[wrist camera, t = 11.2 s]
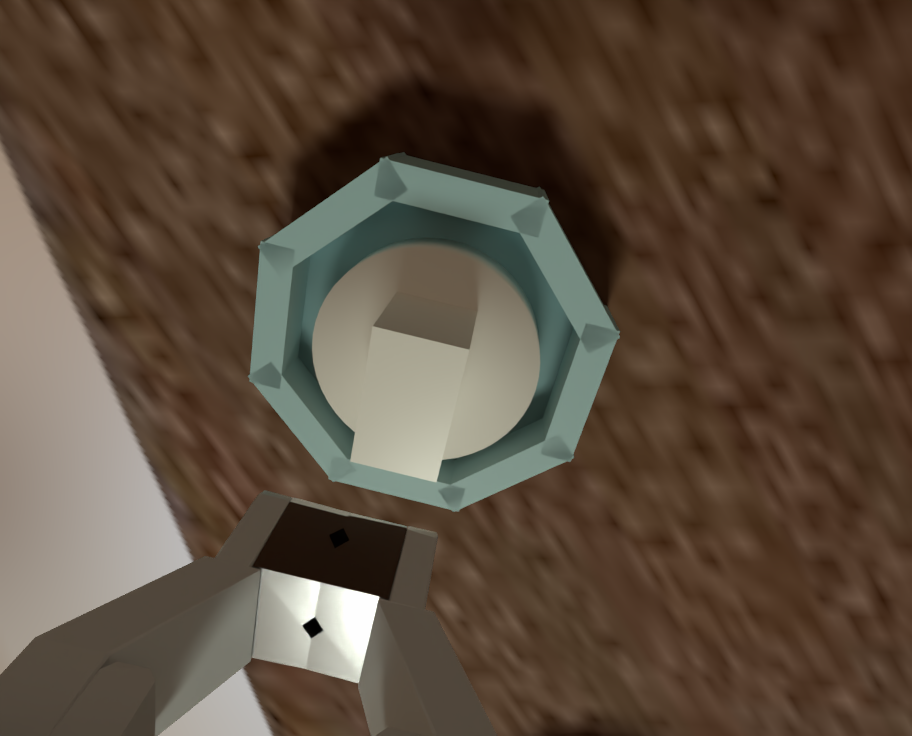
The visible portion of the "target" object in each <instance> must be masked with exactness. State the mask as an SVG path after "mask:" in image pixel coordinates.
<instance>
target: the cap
mask: <svg viewBox="0 0 912 736" xmlns="http://www.w3.org/2000/svg"><path fill="white" fill-rule="evenodd" d="M312 354H313V364H314V368H315V372H316V377H317V379H318V382H319V385H320V387H321V390H322V392H323V394H324V395H325V397H326V399H327V401H328V403H329V404H330V406H331V407H332V408H333V410H334V411H335V413H336V414H337V415H338V416H339V417H340V418H341V420H342V421H343V422H344V423H345V424H346V425H347V426H348V427H349V428H351V429H352V430H353V431H354V432H355V435H354V441H353V448H352V454H351V460H350V462H354V463H358V464H362V465H366V466H371V467H375V468H379V469H383V470H387V471H391V472H395V473H399V474H403V475H407V476H412V477H416V478H420V479H424V480H428V481H432V482H437V478H438V474H439V470H440V466H441V462H442V460H446V459H452V458H459V457H462V456H466V455H469V454H473V453H475V452H477V451H480V450H482V449H484V448H486V447H488V446H490V445H492V444H493V443H495V442H497V441H498V440H499V439H501V438H502V437H503V436H505V435H506V434H507V433H508V432H509V431H510V430H511V429H512V428H513V427H514V426H515V425H516V424H517V423H518V421H519V420H520V419H521V418H522V416H523V415H524V414H525V412H526V410H527V408H528V407H529V405H530V403H531V401H532V398H533V396H534V393H535V391H536V387H537V383H538V379H539V371H540V348H539V338H538V329H537V324H536V319H535V316H534V313H533V310H532V307H531V304H530V302H529V300H528V298H527V296H526V294H525V292H524V291H523V289H522V288H521V287H520V285H519V284H518V282H517V281H516V279H515V278H514V277H513V276H512V275H511V274H510V273H509V272H508V271H507V270H506V269H505V268H504V267H503V266H502V265H500V264H499V263H498V262H497V261H496V260H495V259H493V258H491V257H490V256H488V255H487V254H485V253H483V252H482V251H480V250H478V249H475V248H473V247H471V246H469V245H466V244H463V243H460V242H457V241H453V240H447V239H442V238H426V237H423V238H413V239H406V240H402V241H398V242H394V243H391V244H389V245H386V246H384V247H381V248H379V249H378V250H376V251H374V252H372V253H371V254H369V255H368V256H366V257H365V258H364V259H362V260H361V261H360V262H358V263H357V264H356V265H355V266H354V267H353V268H352V269H350V270H349V271H348V272H347V273H346V274H345V275H344V276H343V277H342V278H341V279H340V280H339V281H338V282H337V283H336V284H335V285H334V286H333V288H332V289H331V291H330V292H329V293H328V295H327V296H326V298H325V300H324V302H323V304H322V306H321V308H320V310H319V313H318V316H317V318H316V321H315V326H314V331H313V339H312Z"/></svg>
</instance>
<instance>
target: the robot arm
mask: <svg viewBox="0 0 912 736" xmlns="http://www.w3.org/2000/svg"><path fill="white" fill-rule="evenodd" d="M406 531H407V532H406ZM405 535H406V536H405ZM404 539H405V540H404ZM437 539H438V536H437V532H432V531H428V530H423V529H419V528H415V527H410V526H409V527H408V529H407V526H403V525H399V524H395V523H391V522H386V521H382V520H378V519H374V518H370V517H365V516H361V515H357V514H353V513H349V512H345V511H342V510H338V509H334V508H331V507H327V506H323V505H320V504H316V503H312V502H308V501H305V500H301V499H297V498H291V497H288V496H284V495H280V494H277V493H273V492H269V491H266V490H265V491H263V492H262V493H260V494H259V495H258V496H257V497H256V499H255V500H254V502H253V503H252V504H251V506H250V507H249V509H248V510H247V512H246V513H245V515H244V516H243V518H242V519H241V521H240V522H239V523H238V525H237V526H236V528H235V529H234V531H233V532H232V534H231V535H230V537H229V538H228V540H227V541H226V542H225V544H224V545H223V547H222V548H221V550H220V551H219V553H218V554H217V556H216V557H215V558H212V557H207V556H205V557H202V558H200V559H198V560H196V561H194V562H192V563H190V564H188V565H186V566H184V567H182V568H179V569H177V570H175V571H173V572H171V573H169V574H167V575H165V576H163V577H161V578H159V579H157V580H155V581H152V582H150V583H148V584H146V585H144V586H142V587H140V588H138V589H135V590H133V591H131V592H129V593H127V594H125V595H123V596H121V597H119V598H117V599H115V600H112V601H110V602H109V603H106V604H104V605H102V606H100V607H98V608H96V609H94V610H92V611H89V612H87V613H86V614H83V615H81V616H79V617H77V618H75V619H73V620H71V621H69V622H67V623H64V624H62V625H60V626H58V627H56V628H54V629H52V630H50V631H48V632H46V633H43V634H42V635H39V636H37V637H35V638H34V639H33V640H32V641H31V643H30V644H29V645H28V646H27V647H26V648H25V649H24V650H23V651H22V652H21V654H19V656H18V657H17V658H16V659H15V660H14V661H13V662H12V663H11V664H10V665H9V666H8V667H7V669H5V670H4V672H3V673H2V674H1V675H0V736H158V735H159V734H160V733H162V732H163V731H164V730H165V729H167V728H168V727H169V726H170V725H171V724H173V723H174V722H175V721H177V720H178V719H179V718H180V717H181V716H183V715H184V714H185V713H186V712H188V711H189V710H190V709H191V708H193V707H194V706H195V705H196V704H198V703H199V702H200V701H201V700H203V699H204V698H205V697H206V696H207V695H209V694H210V693H211V692H213V691H214V690H215V689H216V688H218V687H219V686H220V685H221V684H222V683H224V682H225V681H226V680H227V679H229V678H230V677H231V676H232V675H234V674H235V673H236V672H237V671H239V670H240V669H241V668H242V667H244V666H245V665H246V664H247V663H249V662H250V661H251V657H252V658H257V659H262V660H266V661H271V662H276V663H281V664H285V665H290V666H295V667H299V668H304V669H308V670H312V671H315V672H319V673H323V674H326V675H330V676H334V677H337V678H341V679H345V680H348V681H352V682H356V683H359V684H358V688H359V692H360V696H361V699H362V703H363V707H364V711H365V715H366V718H367V722H368V726H369V730H370V734H371V736H497V734H496V732H495V730H494V728H493V726H492V724H491V722H490V720H489V718H488V716H487V715H486V713H485V711H484V709H483V707H482V705H481V703H480V701H479V699H478V697H477V695H476V693H475V691H474V689H473V687H472V685H471V683H470V681H469V679H468V677H467V675H466V673H465V671H464V669H463V668H462V666H461V664H460V662H459V660H458V658H457V656H456V654H455V652H454V650H453V648H452V646H451V644H450V642H449V640H448V638H447V636H446V634H445V632H444V630H443V628H442V626H441V624H440V622H439V621H438V619H437V617H436V615H435V613H434V612H432V611H428V610H425V607H426V602H427V596H428V590H429V585H430V579H431V573H432V568H433V562H434V556H435V550H436V545H437ZM403 543H404V544H403ZM402 547H403V548H402ZM401 551H402V552H401Z"/></svg>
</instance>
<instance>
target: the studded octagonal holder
mask: <svg viewBox="0 0 912 736" xmlns="http://www.w3.org/2000/svg"><path fill="white" fill-rule="evenodd" d="M423 237H426V238H442V239H447V240H453V241H457V242H460V243H463V244H466V245H469V246H471V247H473V248H475V249H478V250H480V251H482V252H483V253H485V254H487V255H488V256H490V257H491V258H493V259H495V260H496V261H497V262H498V263H499V264H500V265H502V266H503V267H504V268H505V269H506V270H507V271H508V272H509V273H510V274H511V275H512V276H513V277H514V278H515V279H516V281H517V282H518V284H519V285H520V287H521V288H522V289H523V291H524V292H525V294H526V296H527V298H528V300H529V302H530V304H531V307H532V310H533V313H534V316H535V319H536V324H537V329H538V338H539V348H540V371H539V379H538V383H537V387H536V391H535V393H534V396H533V398H532V401H531V403H530V405H529V407H528V408H527V410H526V412H525V414H524V415H523V416H522V418H521V419H520V420H519V421H518V423H517V424H516V425H515V426H514V427H513V428H512V429H511V430H510V431H509V432H508V433H507V434H506V435H505V436H503V437H502V438H501V439H499V440H498V441H497V442H495V443H493V444H492V445H490V446H488V447H486V448H484V449H482V450H480V451H477V452H475V453H473V454H469V455H466V456H462V457H459V458H452V459H446V460H442V462H441V466H440V470H439V474H438V478H437V482H432V481H428V480H424V479H420V478H416V477H412V476H407V475H403V474H399V473H395V472H391V471H387V470H383V469H379V468H375V467H371V466H366V465H362V464H358V463H354V462H350V460H351V454H352V448H353V441H354V435H355V432H354V431H353V430H352V429H351V428H349V427H348V426H347V425H346V424H345V423H344V422H343V421H342V420H341V418H340V417H339V416H338V415H337V414H336V413H335V411H334V410H333V408H332V407H331V406H330V404H329V403H328V401H327V399H326V397H325V395H324V394H323V392H322V390H321V387H320V385H319V382H318V379H317V377H316V372H315V368H314V364H313V354H312V339H313V331H314V326H315V321H316V318H317V316H318V313H319V310H320V308H321V306H322V304H323V302H324V300H325V298H326V296H327V295H328V293H329V292H330V291H331V289H332V288H333V286H334V285H335V284H336V283H337V282H338V281H339V280H340V279H341V278H342V277H343V276H344V275H345V274H346V273H347V272H348V271H349V270H350V269H352V268H353V267H354V266H355V265H356V264H357V263H358V262H360V261H361V260H362V259H364V258H365V257H366V256H368V255H369V254H371V253H372V252H374V251H376V250H378V249H379V248H381V247H384V246H386V245H389V244H391V243H394V242H398V241H402V240H406V239H413V238H423ZM258 248H259V249H260V257H259V269H258V282H257V294H256V307H255V319H254V332H253V344H252V357H251V369H250V374H249V375H248V377H249V378H250V382H253V383H254V385H255V386H256V387H257V388H258V389H259V391H260V392H261V393H262V394H263V396H264V397H265V398H266V399H267V401H268V402H269V403H270V404H271V406H272V407H273V408H274V409H275V411H276V412H277V413H278V414H279V416H280V417H281V418H282V419H283V420H284V422H285V423H286V424H287V425H288V427H289V428H290V429H291V430H292V432H293V433H294V434H295V435H296V437H297V438H298V439H299V440H300V442H301V443H302V444H303V445H304V446H305V448H306V449H307V450H308V451H309V453H310V454H311V455H312V456H313V458H314V459H315V460H316V461H317V463H318V464H319V465H320V466H321V468H322V469H323V470H324V471H325V472H326V474H327V475H328V476H329V479H330V480H332V481H333V482H334V481H338V482H342V483H346V484H350V485H354V486H358V487H362V488H366V489H370V490H374V491H378V492H382V493H386V494H390V495H394V496H398V497H402V498H406V499H410V500H414V501H418V502H422V503H426V504H430V505H434V506H438V507H442V508H446V509H450V510H452V511H453V512H454V511H458V512H459V509H461V508H463V507H465V506H468V505H470V504H472V503H474V502H477V501H479V500H481V499H483V498H485V497H488V496H490V495H492V494H494V493H497V492H499V491H501V490H503V489H506V488H508V487H510V486H512V485H515V484H517V483H519V482H521V481H523V480H526V479H528V478H530V477H532V476H535V475H537V474H539V473H541V472H544V471H546V470H548V469H550V468H552V467H555V466H557V465H559V464H561V463H564V462H566V461H569V462H570V461H571V459H573V458H574V454H573V453H574V451H575V448H576V445H577V443H578V440H579V437H580V435H581V432H582V430H583V427H584V424H585V422H586V419H587V416H588V414H589V411H590V409H591V406H592V403H593V401H594V398H595V395H596V393H597V390H598V388H599V385H600V382H601V380H602V377H603V374H604V372H605V369H606V366H607V364H608V361H609V359H610V356H611V353H612V351H613V348H614V345H615V343H616V340H617V339H619V338H620V336H619V332H620V331H619V329H618V327H617V325H616V323H615V321H614V319H613V317H612V315H611V313H610V311H609V309H608V307H607V305H603V303H602V301H601V299H600V297H599V295H598V293H597V292H596V290H595V288H594V286H593V284H592V282H591V281H590V279H589V277H588V275H587V273H586V271H585V269H584V268H583V266H582V264H581V262H580V260H579V258H578V256H577V255H576V253H575V251H574V249H573V247H572V245H571V244H570V242H569V240H568V238H567V236H566V234H565V232H564V231H563V229H562V227H561V225H560V223H559V221H558V219H557V218H556V216H555V214H554V212H553V210H552V208H551V207H550V205H549V199H548V197H547V195H546V192H545V190H542V189H541V188H540V186H539V187H537V188H534V187H530V186H526V185H522V184H519V183H515V182H511V181H507V180H503V179H499V178H495V177H491V176H487V175H483V174H479V173H475V172H471V171H467V170H463V169H459V168H455V167H451V166H447V165H443V164H439V163H435V162H431V161H428V160H424V159H420V158H416V157H412V156H408V155H406V154H405V152H402V153H397V154H393V155H389V156H385V157H381V158H380V162H379V163H377V164H376V165H374V166H373V167H371V168H370V169H369V170H367V171H366V172H364V173H363V174H361V175H360V176H359V177H357V178H356V179H354V180H353V181H351V182H350V183H348V184H347V185H346V186H344V187H343V188H341V189H340V190H338V191H337V192H336V193H334V194H333V195H331V196H330V197H328V198H327V199H325V200H324V201H323V202H321V203H320V204H318V205H317V206H315V207H314V208H313V209H311V210H310V211H308V212H307V213H305V214H304V215H302V216H301V217H300V218H298V219H297V220H295V221H294V222H292V223H291V224H289V225H288V226H287V227H285V228H284V229H282V230H281V231H279V232H278V233H277V234H275V235H273V236H271V237H269V238H266V239H264V240H262V241H261V244H260V245H259V246H258Z"/></svg>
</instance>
